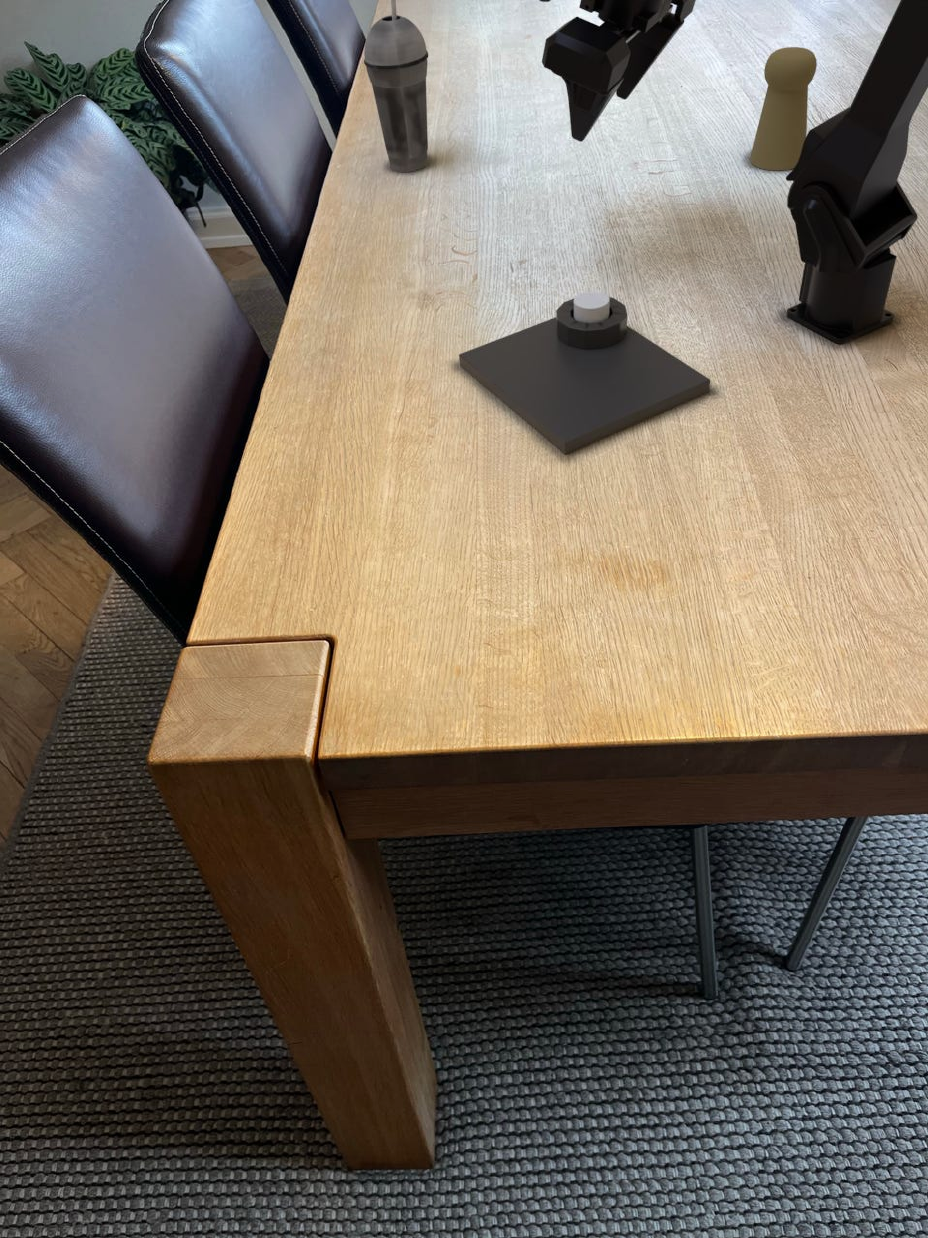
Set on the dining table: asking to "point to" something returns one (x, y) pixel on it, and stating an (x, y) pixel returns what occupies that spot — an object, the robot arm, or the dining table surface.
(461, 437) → the dining table surface
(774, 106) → the tan pawn
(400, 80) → the beverage cup
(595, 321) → the button
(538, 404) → the scale
